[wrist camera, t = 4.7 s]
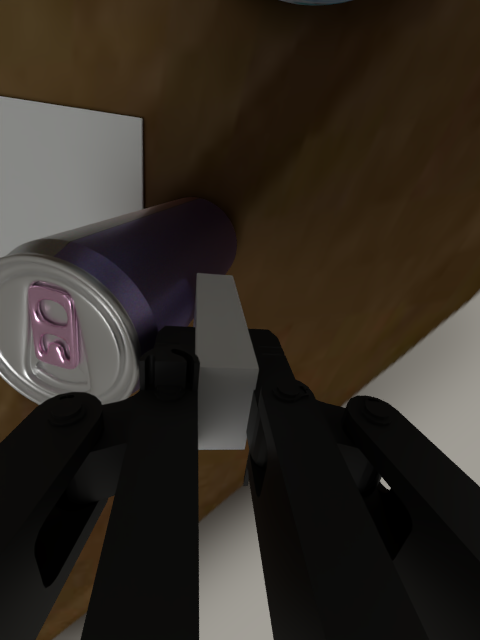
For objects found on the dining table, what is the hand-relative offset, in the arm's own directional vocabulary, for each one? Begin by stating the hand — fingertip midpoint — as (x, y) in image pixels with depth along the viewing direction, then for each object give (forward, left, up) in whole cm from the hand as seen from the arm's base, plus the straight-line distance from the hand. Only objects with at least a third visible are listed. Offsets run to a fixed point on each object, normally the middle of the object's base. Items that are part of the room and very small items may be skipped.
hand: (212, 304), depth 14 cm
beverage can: (0, -1, -11) cm, 11 cm away
